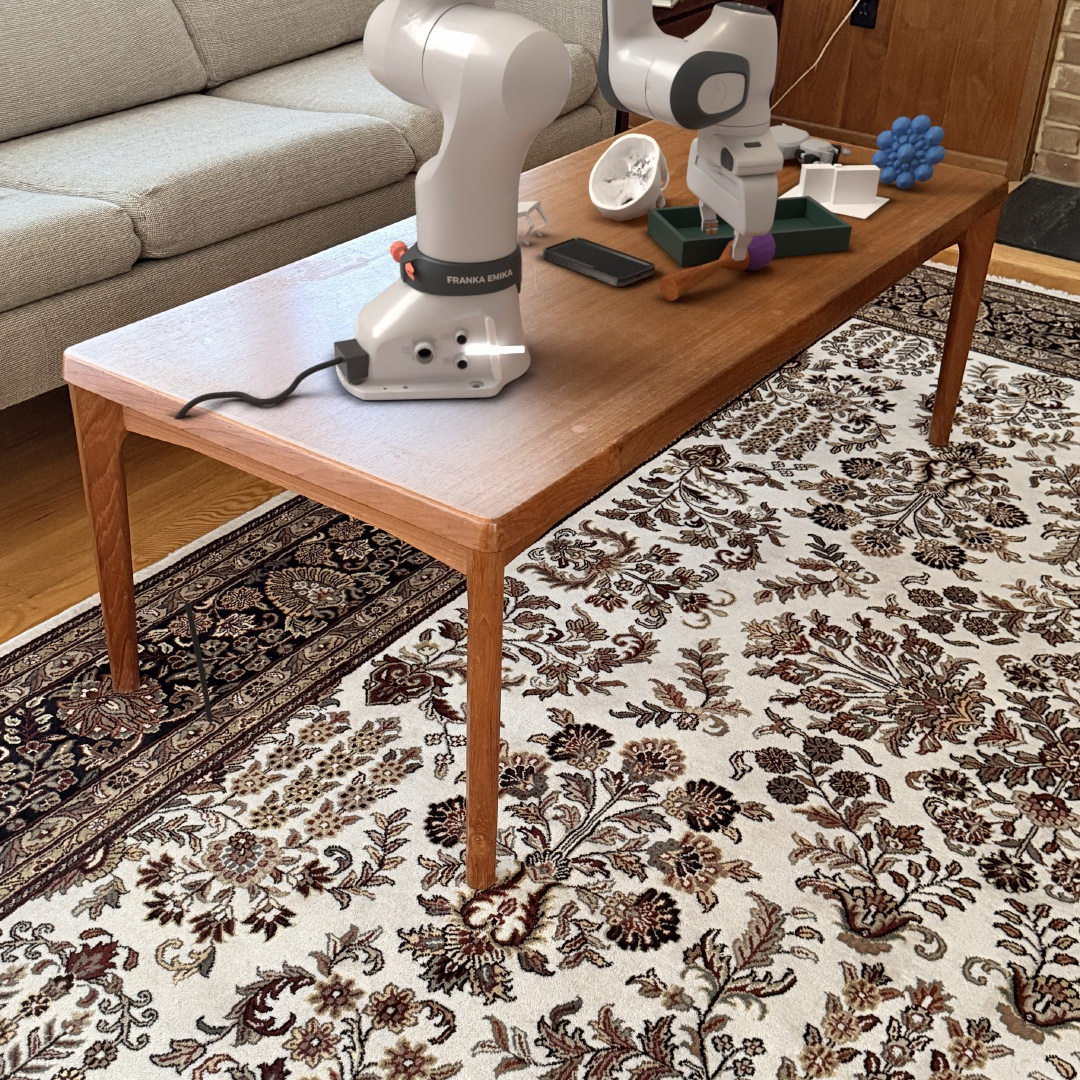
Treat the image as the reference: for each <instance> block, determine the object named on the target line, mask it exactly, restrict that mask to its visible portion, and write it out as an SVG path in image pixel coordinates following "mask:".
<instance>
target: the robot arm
mask: <svg viewBox="0 0 1080 1080" xmlns="http://www.w3.org/2000/svg"><path fill="white" fill-rule="evenodd" d="M495 3H496V0H383V1H382V2H380V4H378V5H377V6H376V8H375V9H374V10H373V12H372V13H371V15H370V16H369V18H368V20H367V22H366V26H365V28H364V29H365V30H364V34H363V40H362V41H363V42H362V48H363V49H362V50H363V57H364V61H365V65H366V67H367V70H368V71H369V73H370V74H371V76H372V77H373V78H374V80H375V81H376V82H377V83H379V84H380V85H381V86H382V87H384V88H385V89H386V90H388V91H389V92H391V93H392V94H394V95H395V96H397V97H398V98H399V99H401V100H402V101H404V102H406V103H409V104H411V105H414V106H417V107H421V108H424V109H427V110H430V111H433V112H437V113H440V114H441V116H442V119H443V132H442V133H443V134H442V137H441V138H442V139H441V143H440V147H439V150H438V153H437V154H436V155H434V156H432V157H431V158H429V159H428V160H427V161H426V162H424V163H423V164H422V165H421V166H420V168H419V169H418V172H417V173H416V176H415V180H414V194H415V197H414V198H415V218H416V220H415V221H416V240H417V241H416V242H414V244H413V245H411V246H410V247H409V248H408V245H407V244H406V243H405V242H404V241H401V240H395V241H393V243H391V244H392V245H390V246H389V248H390V249H389V253H390V255H391V256H392V259H393V260H394V261H395V263H396V264H397V263H398V264H399V274H400V277H399V278H398V279H397V280H395V281H394V282H393V283H392V284H391V285H389V286H388V287H387V288H386V289H384V290H383V291H382V292H380V293H378V295H377V296H375V297H374V298H373V299H371V300H369V301H368V302H367V303H366V304H365V305H363V307H362V308H361V309H360V311H359V313H358V315H357V318H356V322H355V327H354V334H353V338H351V339H345V340H339V341H338V340H337V341H334V342H333V349H334V350H333V351H334V358H333V359H329V360H327V361H324V362H321V363H318V364H315V365H313V366H310V367H308V368H306V369H305V370H304V371H302V372H300V373H299V374H298V375H297V376H296V377H295V379H294V380H293V381H292V382H291V384H290V385H289V386H288V387H287V388H286V389H284V391H282V392H280V394H278V395H276V396H273V397H268V398H258V397H255V396H253V395H251V394H249V393H246V392H243V391H239V390H234V391H233V390H231V391H230V390H229V391H217V392H216V391H215V392H210V393H208V392H207V393H205V394H201V395H199V396H196V397H194V398H192V399H191V400H190V401H188V402H187V403H186V404H185V405H184V406H183V407H181V408H180V410H179V411H178V412H177V414H176V415H175V416H174V420H181V419H183V418H184V417H185V416H186V414H187V413H189V411H190V410H191V409H193V408H194V407H195V406H197V405H198V404H201V403H203V402H206V401H210V400H219V399H236V398H237V399H242V400H245V401H247V402H249V403H251V404H253V405H257V406H270V405H275V404H278V403H280V402H282V401H283V400H284V399H286V398H288V397H289V396H290V395H292V394H293V393H294V392H295V390H296V389H298V387H299V385H300V384H301V383H302V382H303V380H305V379H306V378H307V377H310V376H311V375H313V374H315V373H317V372H319V371H322V370H326V369H329V368H332V367H334V366H335V370H336V375H337V377H338V379H339V382H340V384H341V385H342V386H343V388H344V389H345V390H346V391H347V392H349V393H350V394H351V395H353V396H354V397H356V398H359V399H361V400H363V401H384V400H385V401H386V400H389V401H390V400H391V401H392V400H429V399H466V398H469V399H470V398H472V399H473V398H490V397H494V396H496V395H498V394H499V393H500V392H501V390H502V389H503V388H504V386H506V385H507V384H509V383H510V382H512V381H514V380H516V379H518V378H520V377H521V376H522V375H523V374H525V373H526V372H527V371H528V369H529V368H530V366H531V362H532V360H531V354H530V352H529V349H528V346H527V342H526V336H525V332H524V327H523V322H522V321H523V320H522V313H521V304H520V294H521V291H522V283H523V255H522V245H521V244H520V243H518V225H519V224H518V222H519V221H518V220H519V219H518V202H519V195H520V194H519V193H520V181H521V176H522V171H523V165H524V163H525V160H526V158H527V154H528V152H529V150H530V147H531V145H532V143H533V142H534V140H535V138H536V137H537V136H538V135H539V134H540V132H542V131H543V130H544V129H545V128H547V127H548V126H549V125H551V124H552V123H553V122H554V121H555V120H556V119H557V117H558V116H560V114H561V112H562V110H563V109H564V107H565V105H566V103H567V100H568V98H569V95H570V91H571V87H572V75H573V74H572V73H573V71H572V62H571V57H570V53H569V51H568V49H567V47H566V45H565V43H564V41H563V40H562V39H561V38H560V37H559V36H558V35H557V34H555V33H554V32H552V31H551V30H549V29H547V28H546V27H544V26H542V25H541V24H539V23H537V22H535V21H534V20H531V19H530V18H529V17H526V16H524V15H521V14H518V13H514V12H510V11H505V10H501V9H497V8H494V7H495ZM601 9H602V10H601V13H602V15H601V16H602V30H601V31H602V32H601V39H600V40H601V41H600V47H599V54H598V59H597V82H598V86H599V90H600V92H601V95H602V97H603V99H605V101H606V103H607V104H608V105H609V106H610V107H612V108H613V109H615V110H617V111H620V112H625V113H629V114H632V115H633V114H634V115H640V116H643V117H646V118H648V119H650V120H651V119H652V120H654V121H657V122H660V123H663V124H668V125H671V126H674V127H677V128H679V129H683V130H688V131H697V137H694V139H693V140H692V142H691V143H690V144H691V145H690V149H689V153H688V154H689V155H688V161H687V171H686V184H687V189H688V190H689V191H690V192H691V193H692V194H694V195H695V196H696V197H697V198H698V205H699V207H700V212H701V218H702V226H701V230H702V231H703V232H704V233H705V234H706V235H714V234H716V233H717V231H718V229H717V227H718V221H717V220H716V213H717V214H718V215H719V216H720V217H721V218H723V219H724V220H725V221H726V222H727V223H728V224H730V225H731V226H732V227H733V228H734V235H735V236H736V237H735V240H734V243H733V244H730V252H729V255H730V256H731V257H732V258H733V259H734V260H735V261H739V260H744V259H745V258H746V254H747V247H748V245H749V244H750V242H751V240H752V238H753V237H754V236H762V235H766V234H768V232H769V231H770V229H771V228H772V225H773V221H774V215H775V209H776V201H777V198H778V192H779V181H778V176H777V174H776V173H780V172H782V170H783V168H784V160H783V155H782V153H781V151H780V150H779V148H778V146H777V145H776V143H775V141H774V138H773V135H772V132H771V130H769V128H770V127H771V118H772V113H771V107H770V97H771V93H772V91H773V88H774V86H775V81H776V72H777V63H778V26H777V21H776V18H775V15H773V14H772V13H771V12H770V11H769V10H768V9H766V8H763V7H759V6H756V5H752V4H745V3H741V2H735V1H722V2H719V3H716V4H715V5H713V8H712V11H711V14H710V16H709V17H708V18H707V20H706V21H705V22H704V23H703V24H702V25H701V26H700V27H699V28H698V29H697V30H695V31H694V32H692V33H690V34H689V35H687V36H685V37H684V38H680V37H677V36H674V35H671V34H666V33H665V32H663V31H662V30H661V28H660V27H659V26H658V25H657V23H656V21H655V19H654V14H653V0H601ZM184 608H185V613H186V617H187V623H188V626H189V627H188V628H189V631H190V637H191V642H192V645H193V650H194V651H193V652H194V657H195V660H196V665H197V671H198V675H199V680H200V686H201V687H200V688H201V692H202V698H203V702H204V703H203V704H204V709H205V716H206V722H207V723H213V721H214V719H213V713H212V706H211V699H210V693H209V688H208V683H207V682H208V681H207V676H206V672H205V671H206V670H205V666H204V661H203V656H202V651H201V646H200V640H199V636H198V632H197V631H198V630H197V626H196V622H195V616H194V612H193V607H192V602H185V603H184Z"/></svg>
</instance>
